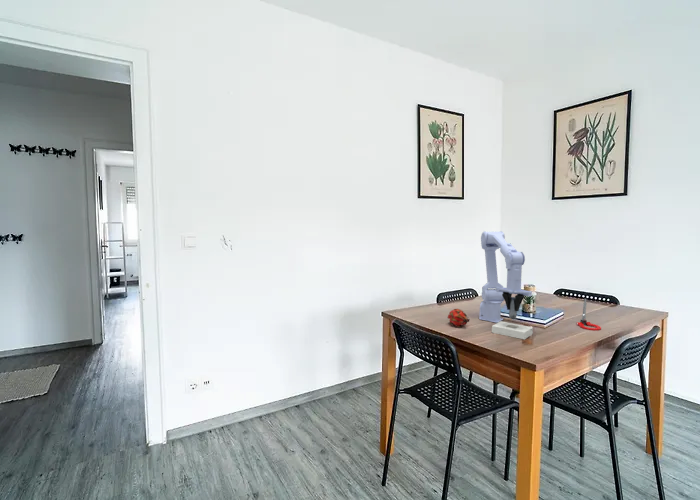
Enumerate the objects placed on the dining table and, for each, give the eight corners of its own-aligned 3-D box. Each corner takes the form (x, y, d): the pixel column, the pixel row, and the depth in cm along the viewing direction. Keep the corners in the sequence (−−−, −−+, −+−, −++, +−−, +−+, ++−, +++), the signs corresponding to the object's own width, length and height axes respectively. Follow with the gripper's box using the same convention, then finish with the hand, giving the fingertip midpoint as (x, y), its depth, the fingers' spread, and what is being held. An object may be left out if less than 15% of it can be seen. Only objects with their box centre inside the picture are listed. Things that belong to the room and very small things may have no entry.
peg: (507, 317, 165) (508, 297, 165) (510, 316, 167) (511, 296, 167) (514, 319, 163) (515, 298, 162) (517, 317, 165) (518, 297, 164)
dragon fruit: (451, 324, 185) (466, 335, 174) (440, 316, 181) (454, 326, 170) (461, 310, 185) (476, 320, 174) (450, 302, 181) (465, 311, 170)
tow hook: (605, 331, 170) (589, 324, 179) (608, 303, 168) (592, 298, 177) (588, 332, 169) (573, 325, 178) (591, 304, 167) (576, 298, 176)
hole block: (491, 332, 167) (491, 325, 167) (500, 327, 174) (500, 321, 174) (524, 339, 157) (524, 332, 157) (532, 334, 165) (532, 327, 164)
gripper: (493, 278, 166) (492, 309, 167) (528, 282, 156) (527, 314, 157) (500, 276, 171) (499, 306, 172) (534, 280, 161) (532, 311, 162)
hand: (512, 310), depth 165 cm, fingers closed on peg, 3 cm apart
